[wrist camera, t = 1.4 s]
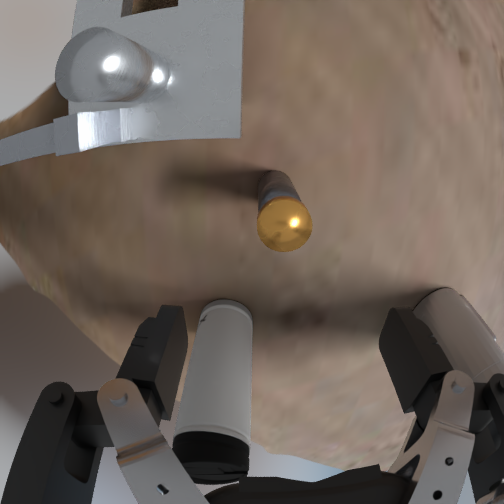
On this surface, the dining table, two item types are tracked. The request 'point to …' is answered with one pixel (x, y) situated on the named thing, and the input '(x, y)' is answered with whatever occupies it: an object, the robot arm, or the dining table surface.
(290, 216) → the pin
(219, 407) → the travel mug
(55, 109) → the dining table surface
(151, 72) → the grey metal bracket
